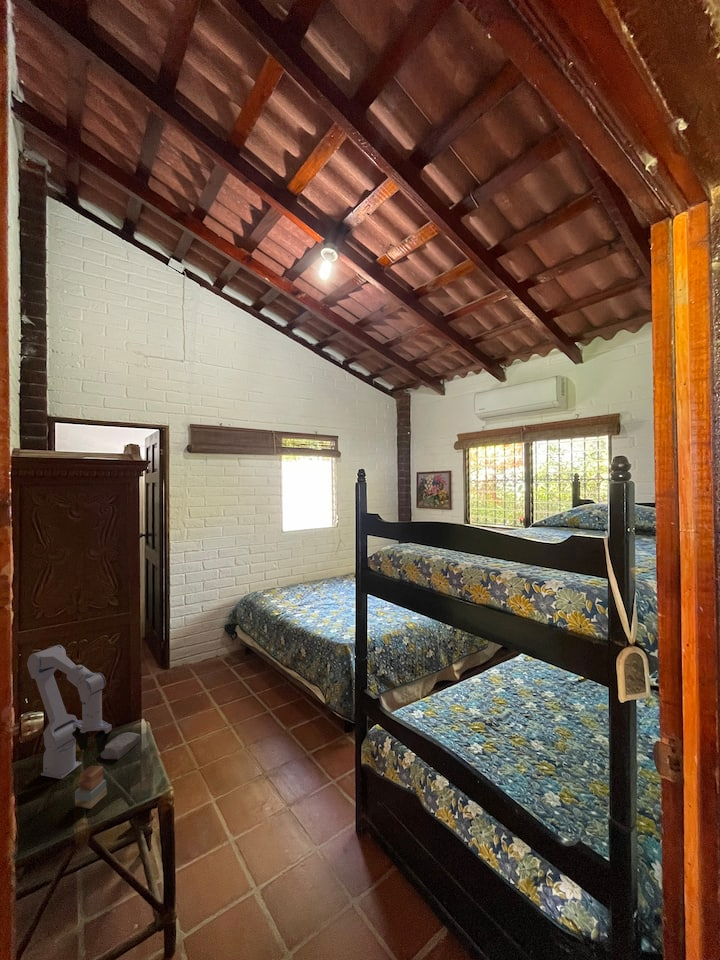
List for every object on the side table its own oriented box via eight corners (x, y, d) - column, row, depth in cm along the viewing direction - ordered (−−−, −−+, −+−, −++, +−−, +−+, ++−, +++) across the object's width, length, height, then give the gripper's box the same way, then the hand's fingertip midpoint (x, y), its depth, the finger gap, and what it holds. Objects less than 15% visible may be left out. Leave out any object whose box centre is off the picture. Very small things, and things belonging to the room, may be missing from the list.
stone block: (97, 763, 147) (119, 760, 146) (95, 750, 148) (118, 747, 146) (122, 744, 159) (143, 741, 157) (120, 732, 159) (141, 729, 158)
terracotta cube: (79, 789, 126) (79, 775, 126) (91, 778, 130) (91, 765, 130) (91, 790, 125) (91, 776, 125) (103, 780, 130) (103, 766, 130)
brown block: (75, 806, 125) (75, 798, 125) (91, 792, 131) (91, 784, 131) (90, 809, 124) (90, 801, 124) (106, 795, 130) (106, 787, 130)
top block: (74, 799, 125) (74, 791, 125) (90, 785, 131) (90, 777, 131) (91, 801, 124) (90, 793, 124) (106, 787, 130) (106, 779, 130)
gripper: (64, 715, 134) (64, 755, 134) (99, 720, 131) (99, 760, 131) (83, 704, 141) (83, 742, 141) (116, 708, 138) (116, 747, 138)
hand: (92, 750), depth 136 cm, fingers open, 7 cm apart
